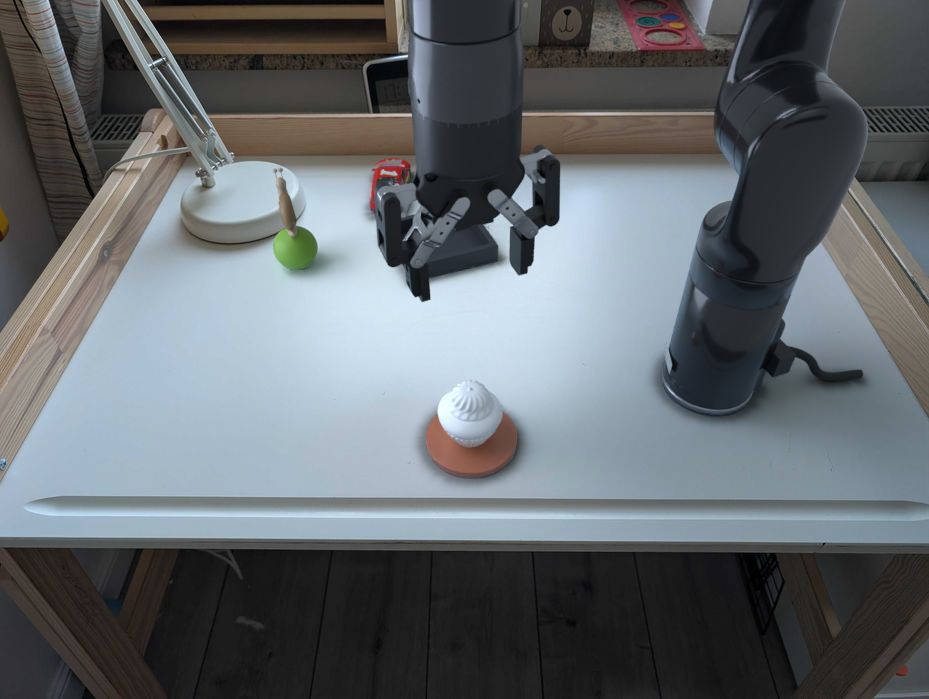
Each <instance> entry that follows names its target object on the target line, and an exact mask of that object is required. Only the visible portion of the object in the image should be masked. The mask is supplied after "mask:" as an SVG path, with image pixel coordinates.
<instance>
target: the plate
mask: <svg viewBox="0 0 929 699" xmlns="http://www.w3.org/2000/svg"><path fill="white" fill-rule="evenodd" d="M502 412H503V414H502V420H501V422H500V424H499V425H498V428H497V429H496V430H495V432H494V433H493V434H492V435H491V436H490V437H489V438H488V439H487V440H486V441H485V442H484V443H483V444H481V445H479V446H478V447H472V448H470V447H469V448H467V447H465V446H462V445H459V444H458V443H457V442H456V441H455V440H453V439H452V438H451V437H450V436H449V435H448V434H447V432H446V431H445V430H444V428H443V427H442V425H441V423H440V421H439V418H438V412H437V413H435V415H434V416H433V417H432V419H431V420H430V421H429V423H428V425H427V428H426V432H425V447H426V451H427V454H428V455H429V458H430V459H431V461H432V462H433V463H434V464H435V465H436V466H437V467H438V468H440V469H441V470H442V471H444V472H445V473H447V474H449V475H453V476H456V477H460V478H466V479H467V478H469V479H476V478H484V477H487V476H490V475H493V474H495V473H497V472H498V471H500V470H502V469H503V468H505V467H506V466H507V465H508V464H509V463H510V461H511V460H512V459H513V457H514V455H515V454H516V450H517V445H518V431H517V429H516V425H515V424H514V422H513V420H512V419H511V418H510V416H509V415H508V414H507V413H506V412H504V411H503V410H502Z"/></svg>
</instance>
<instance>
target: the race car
mask: <svg viewBox="0 0 929 699" xmlns="http://www.w3.org/2000/svg"><path fill="white" fill-rule="evenodd" d="M371 172H373V176H372V183H371V189H370V193H369V207H370V212H371V213H372V214H373V215H376V212H375V197H374V187H375V185H376V183H378V182H379V181H387V182H388V183H389V184H390V186H391V187H392V186H398V185H404V184H409V183H411V176H412V175H411V173H412V171H411V163H410V162H408V161H407V160H405V159H403V158H399V157H389V158H384V159H382V160H380V161H378V162H377V163H376V164H375V168H371Z"/></svg>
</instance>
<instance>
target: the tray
mask: <svg viewBox="0 0 929 699" xmlns="http://www.w3.org/2000/svg"><path fill="white" fill-rule="evenodd" d="M415 214H416V213H414V214H410V215H409V214H408V215H407V216H406V217H405V218H401V233H402V241H403V239H404V238H405V236H406V235H407V233H408V231H409V230H410V228H411V227H412V225H413V217H414V215H415ZM436 221H437V219H436V218H434V217H433V224H435V223H436ZM498 261H499V244H498V243H497V241H496V240H495V239H494V238H493V236H492V234H491V233H490V231H489V230H488V229H487V227H486V226H485V224H479V225H473V226H471V227H469V228H467V229H465V230H461V231H457V232H456V231H455V230H454V229H452V230H451V232H450V233H449V235H448V236H447V238H446V239H445V241H444V242H443V244H442V245H441V246H440V247H436V248H435V249H434V250H433V252H432V253H431V255H430V256H429V258H428V259H427V261H426V263H427V265H428V271H429V279H432V278H436V277H439V276H444V275H448V274H452V273H455V272H459V271H464V270H468V269H472V268H476V267H479V266H480V267H481V266H483V265H488V264H492V263H497V262H498ZM401 266H402V267H403V269H404V270H405V266H404V264H401Z"/></svg>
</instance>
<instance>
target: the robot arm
mask: <svg viewBox="0 0 929 699" xmlns="http://www.w3.org/2000/svg"><path fill="white" fill-rule="evenodd" d="M846 2H847V0H748V2H747V5H746V8H745V11H744V14H743V17H742V21H741V24H740V27H739V30H738V32H737V36H736V39H735V42H734V44H733V48H732V51H731V55H730V58H729V60H728V63H727V67H726V69H725V72H724V75H723V79H722V81H721V85H720V88H719V91H718V94H717V99H716V101H715V107H714V112H713V133H714V137H715V140H716V143H717V146H718V148H719V150H720V151H721V153H722V155H723V156H724V157H725V159H726V160H727V161H728V163H729V165H730V166H731V167H732V169H733V170H734V171H735V173H736V174H737V175H738V179H737V184H736V187H735V190H734V193H733V196H732V199H731V200H727V201H723V202H721V203H718V204H716V205H715V206H713V207H712V208H710V209H709V210H708V211H707V212H706V214H705V215H704V217H703V218H702V221H701V222H700V223H701V224H700V227H699V230H698V234H697V237H696V242H695V245H694V249H693V253H692V256H691V260H690V264H689V269H688V273H687V277H686V280H685V284H684V288H683V291H682V295H681V298H680V303H679V307H678V311H677V314H676V318H675V321H674V325H673V330H672V333H671V337H670V341H669V345H668V341H666V342H665V344H664V345H665V346H664V349H663V354H664V359H665V360H664V362H663V363H662V367H661V373H660V378H661V383H662V386H663V388H664V390H665V391H666V393H667V394H668V396H670V397H671V398H672V399H673V400H674V401H675V402H676V403H678V404H679V405H681V406H683V407H684V408H686V409H688V410H690V411H693V412H696V413H699V414H703V415H710V416H723V415H729V414H733V413H737V412H738V411H740V410H742V409H743V408H745V407H746V406H747V404H749V402H750V401H751V398H752V397H753V394H754V393H755V392H758V391H760V389H761V387H762V384H763V383H764V379H765V377H766V374H768V375H769V376H770V377H771V378H772V379H773V378H776V377H779V376H782V375H786V374H789V373H790V371H791V369H792V366H793V364H794V362H795V359H799V360H801V361H803V362H804V363H805V364H806V365H807V367H808V369H809V371H810V373H811V374H812V375H813V376H814V377H815V378H817V379H819V380H821V381H825V382H842V381H848V380H857V379H862V378H863V377H864V372H863V370H862V369H851V370H844V371H843V370H842V371H837V372H836V371H835V372H829V371H825V370H822V369H821V367H820V365H819V363H818V361H817V360H816V358H815V357H814V356H813V355H812V354H810V353H809V352H807V351H805V350H803V349H801V348H797V347H795V346H790V345H787V344H786V343H785V341H783V340H782V339H781V338H782V335H783V333H784V330H785V328H786V321H785V320H784V318H783V316H784V315H785V311H786V309H787V307H788V304H789V301H790V299H791V296H792V293H793V291H794V289H795V286H796V284H797V281H798V279H799V276H800V274H801V271H802V267H803V266H804V264H805V261H806V259H807V257H808V256H809V255H811V253H812V252H813V251H815V249H816V248H817V247H818V246H819V245H820V244H821V242H822V241H823V240H824V239H825V237H826V235H827V234H828V232H829V231H830V228H831V226H832V224H833V222H834V220H835V219H836V216H837V215H838V212H839V210H840V208H841V206H842V204H843V202H844V200H845V197H846V196H847V194H848V191H849V190H850V188H851V185H852V184H853V181H854V180H855V177H856V175H857V172H858V170H859V168H860V166H861V163H862V160H863V158H864V155H865V151H866V148H867V142H868V137H869V136H868V134H869V125H868V119H867V116H866V114H865V112H864V109H863V108H862V107H861V106H860V104H859V103H857V101H856V100H855V99H854V98H852V96H850V95H849V93H847V92H846V91H845V90H843V89H842V88H841V87H840V86H839V85H838V84H837V83H836V82H835V81H834V80H833V79H832V78H831V77H829V76H828V75H829V74H828V68H829V61H830V57H831V51H832V47H833V43H834V39H835V37H836V34H837V29H838V26H839V23H840V19H841V16H842V13H843V10H844V7H845V5H846ZM522 4H523V3H522V0H406V9H407V10H406V12H407V23H408V43H407V44H408V46H407V73H408V74H407V75H408V78H407V92H408V95H409V98H410V110H411V120H412V132H413V146H414V157H415V158H414V159H415V166H416V167H415V168H416V170H415V173H414V176H413V178H412V181H411V182H410V183H409V184H404V185H398V186H392V187H391V186H390V184H389V183H388V182H387V181H379V182H378V183H376V185H375V187H374V197H375V212H376V214H375V226H376V227H375V228H376V241H377V242H376V244H377V247H378V249H379V251H380V253H381V255H382V257H383V259H384V260H385V262H386V264H387V266H388V267H390V268H397V267H399V266H400V265H402V264H404V266H405V269H404V273H405V274H404V275H405V283H406V285H407V287H408V289H409V291H410V293H411V294H412V296H413V297H414V298H418V299H419V300H420V302H421V303H424V302H428V301H431V285H430V278H429V271H428V265H427V263H426V261H427V259H428V258H429V256H430V255H431V253H432V252H433V250H434V249H435V248H436V247H440V246H441V245H442V244H443V242H444V241H445V239H446V238H447V236H448V235H449V233H450V232H451V230H452V229H454V230H455V231H456V232H457V231H461V230H465V229H467V228H469V227H471V226H473V225H479V224H483V225H488V224H492V223H494V221H495V219H496V218H497V217H499V216H500V215H502V216H503V217H504V218H505V219H506V220H507V221H508V222H509V223H510V224H511V226H509V250H508V251H509V252H508V253H509V254H508V259H509V264H510V267H511V268H512V269H513V270H514V272H515V273H516V274H517V276H523V275H526V274H528V272H529V267H532V266H533V263H534V261H535V260H534V259H535V243H536V239H535V238H536V236H537V235H538V233H539V232H540V230H541V229H543V228H544V227H546V226H547V227H549V228H550V227H554V226H556V225H557V224H558V223H559V222H560V216H561V214H560V212H561V162H560V160H559V159H557V158H556V156H555V155H554V154H553V152H551V151H550V150H549V149H547V147H546V146H545V145H544V144H537V145H536V146H534V148H532V151H531V154H528V155H525V156H521V154H522V137H523V109H524V108H523V106H524V105H523V103H524V102H523V101H524V74H525V72H524V71H525V56H524V45H523V37H522V36H523V35H522V7H523V6H522ZM525 175H527V178H528V179H529V180H530V181H531V184H532V186H531V191H532V192H531V194H532V195H531V196H532V197H531V198H532V199H531V200H532V206H531V207H529V208H528V209H526V210H525V209H524V208H522V207H521V206H520V204H518V203H517V201H516V200H515V199H513V196H514V195H515V193H516V191H517V190H518V188H519V187H520V185H521V184H522V182H524V179H525ZM416 201H417V203H418V204H419V207H418V208H417V210H416V212H415V213H414V214H415V215H414V214H413V215H414V217H413V225H412V227H411V228H410V230H409V231H408V233H407V235H406V236H405V238H404V239H403V241H402V233H401V218H405V217H406V216H408V213H409V212H408V211H409V207H410V205H411V204H413V202H416ZM433 217H434V218H436V219H437V221H436V223H435V224H433Z"/></svg>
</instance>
